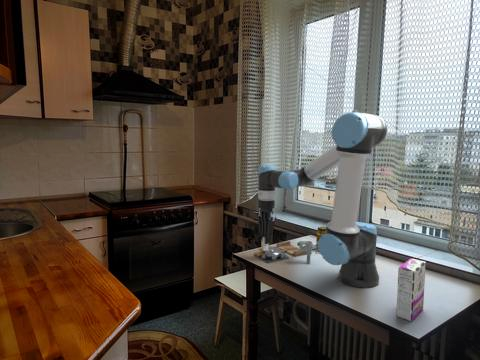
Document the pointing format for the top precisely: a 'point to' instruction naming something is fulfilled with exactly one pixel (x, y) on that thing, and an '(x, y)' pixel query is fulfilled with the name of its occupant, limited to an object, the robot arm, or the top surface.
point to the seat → (290, 249)
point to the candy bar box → (410, 289)
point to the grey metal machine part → (271, 252)
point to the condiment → (320, 234)
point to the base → (268, 260)
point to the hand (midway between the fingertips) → (265, 250)
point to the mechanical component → (307, 248)
